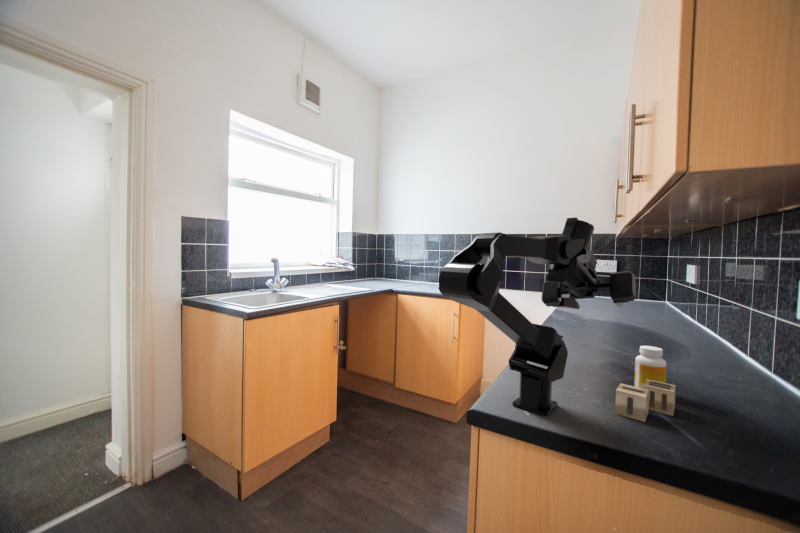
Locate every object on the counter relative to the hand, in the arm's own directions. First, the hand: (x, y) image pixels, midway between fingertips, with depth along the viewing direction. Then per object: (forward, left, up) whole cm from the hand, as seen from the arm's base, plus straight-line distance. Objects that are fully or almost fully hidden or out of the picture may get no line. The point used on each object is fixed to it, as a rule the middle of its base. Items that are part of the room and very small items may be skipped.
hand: (599, 306), depth 79 cm
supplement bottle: (-2, -10, -18) cm, 20 cm away
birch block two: (-10, -13, -17) cm, 24 cm away
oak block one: (-16, -9, -17) cm, 25 cm away
